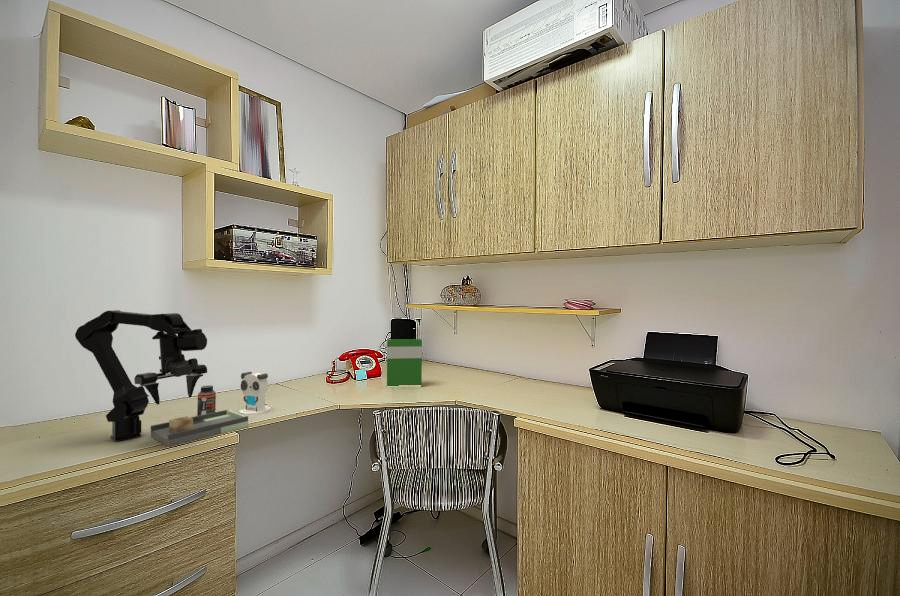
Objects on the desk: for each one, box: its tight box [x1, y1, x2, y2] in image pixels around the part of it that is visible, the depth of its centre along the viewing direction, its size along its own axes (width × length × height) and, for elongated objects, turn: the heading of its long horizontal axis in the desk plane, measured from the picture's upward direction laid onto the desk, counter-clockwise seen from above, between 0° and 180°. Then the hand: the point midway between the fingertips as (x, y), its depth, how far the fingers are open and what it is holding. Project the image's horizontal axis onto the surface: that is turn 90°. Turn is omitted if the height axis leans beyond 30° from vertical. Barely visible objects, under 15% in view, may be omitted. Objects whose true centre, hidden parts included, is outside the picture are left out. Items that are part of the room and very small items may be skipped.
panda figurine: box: [238, 371, 271, 415], centre depth 160 cm, size 12×11×15 cm
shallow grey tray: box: [150, 409, 249, 448], centre depth 134 cm, size 24×15×4 cm, turn 144°
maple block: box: [168, 416, 193, 433], centre depth 129 cm, size 5×5×4 cm
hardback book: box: [386, 338, 423, 387], centre depth 206 cm, size 18×7×24 cm, turn 98°
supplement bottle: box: [196, 385, 217, 416], centre depth 152 cm, size 6×6×11 cm
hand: (174, 400), depth 127 cm, fingers open, 9 cm apart
